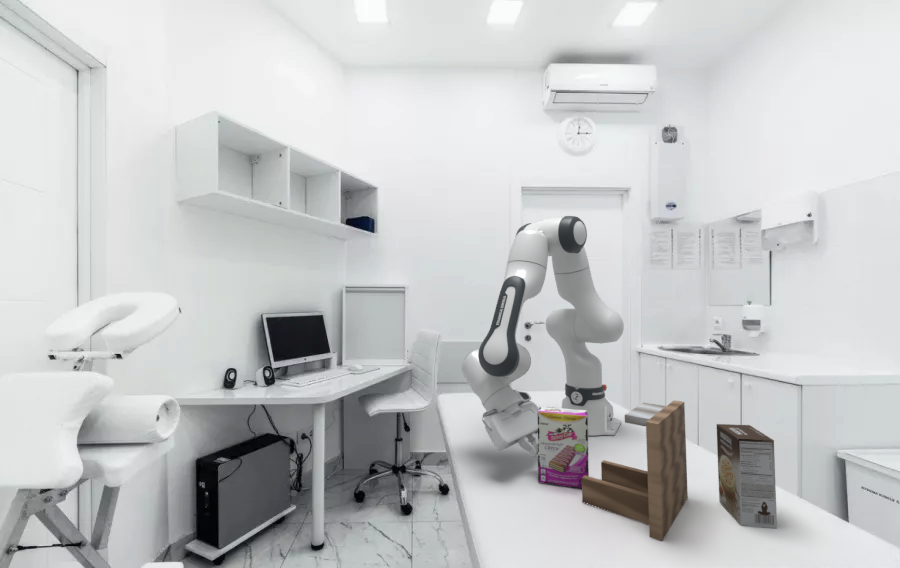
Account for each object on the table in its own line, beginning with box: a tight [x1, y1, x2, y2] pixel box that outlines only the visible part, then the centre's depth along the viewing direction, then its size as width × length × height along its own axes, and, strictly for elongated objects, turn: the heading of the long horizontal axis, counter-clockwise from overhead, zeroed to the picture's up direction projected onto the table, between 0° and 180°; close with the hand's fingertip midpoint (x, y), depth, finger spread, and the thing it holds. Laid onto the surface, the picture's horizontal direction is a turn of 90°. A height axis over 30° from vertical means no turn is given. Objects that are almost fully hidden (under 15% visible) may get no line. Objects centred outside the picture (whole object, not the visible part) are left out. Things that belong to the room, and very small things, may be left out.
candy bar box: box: [537, 406, 590, 489], centre depth 92 cm, size 11×5×16 cm, turn 72°
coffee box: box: [716, 423, 778, 529], centre depth 78 cm, size 9×6×16 cm
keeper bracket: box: [581, 400, 689, 542], centre depth 82 cm, size 20×16×20 cm
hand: (538, 454), depth 96 cm, fingers closed
